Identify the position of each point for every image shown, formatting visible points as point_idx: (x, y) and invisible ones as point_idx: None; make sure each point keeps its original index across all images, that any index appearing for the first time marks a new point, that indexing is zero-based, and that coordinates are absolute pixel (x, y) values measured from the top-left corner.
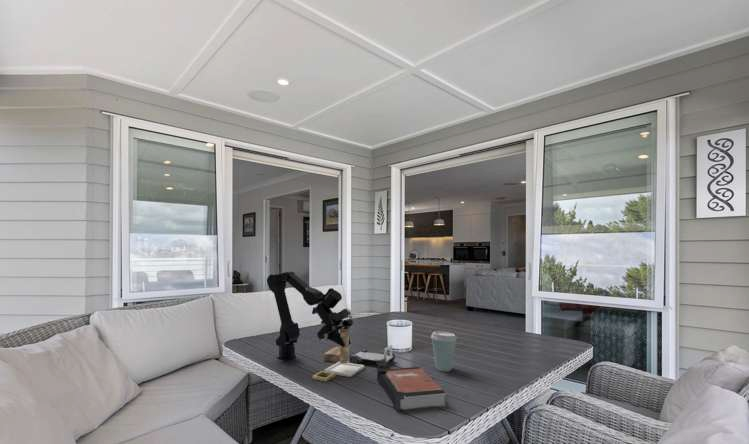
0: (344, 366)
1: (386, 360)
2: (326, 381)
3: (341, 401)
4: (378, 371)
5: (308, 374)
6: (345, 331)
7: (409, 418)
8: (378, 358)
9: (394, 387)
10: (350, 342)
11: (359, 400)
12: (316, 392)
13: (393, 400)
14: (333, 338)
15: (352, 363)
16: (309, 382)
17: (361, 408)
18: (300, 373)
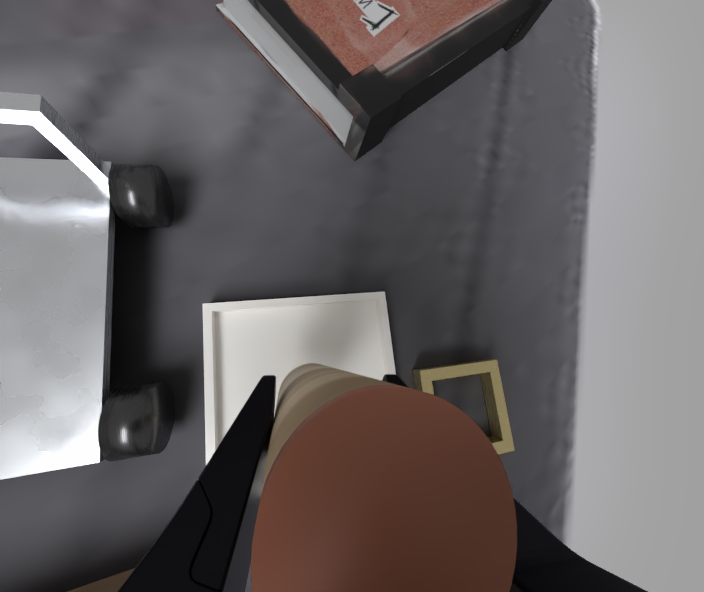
0: None
1: (102, 162)
2: (486, 359)
3: (570, 198)
4: (392, 105)
5: None
6: (468, 419)
7: None
8: (80, 229)
9: (485, 17)
10: (263, 380)
11: (533, 151)
12: (577, 319)
13: (524, 27)
14: None
15: (206, 395)
16: (533, 424)
17: (566, 125)
18: None
